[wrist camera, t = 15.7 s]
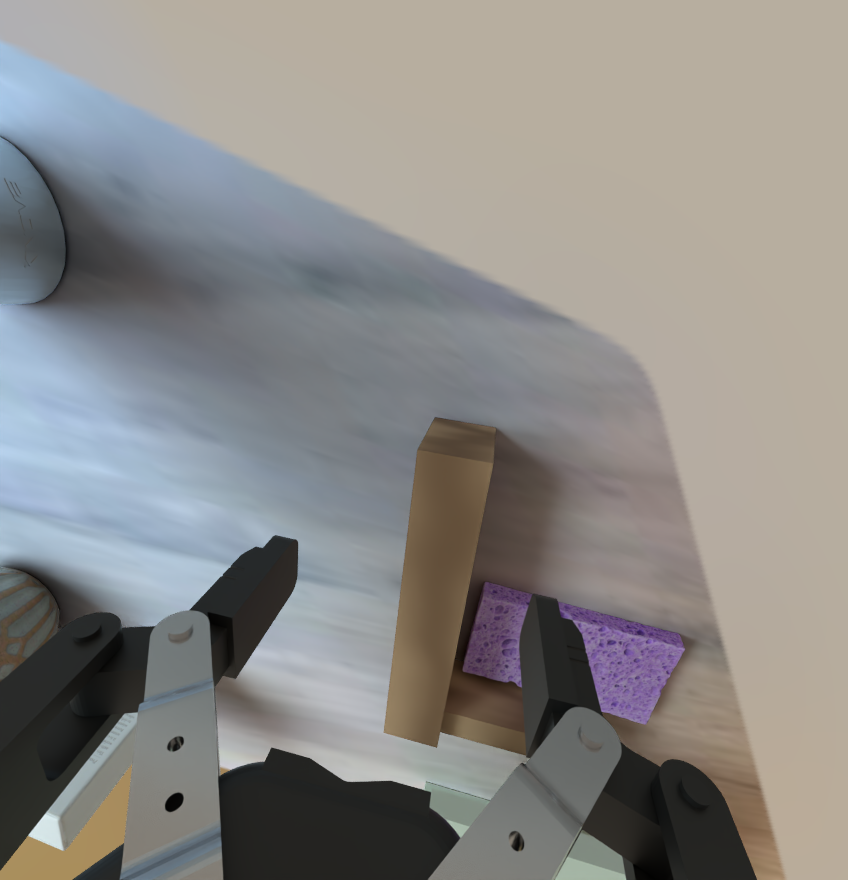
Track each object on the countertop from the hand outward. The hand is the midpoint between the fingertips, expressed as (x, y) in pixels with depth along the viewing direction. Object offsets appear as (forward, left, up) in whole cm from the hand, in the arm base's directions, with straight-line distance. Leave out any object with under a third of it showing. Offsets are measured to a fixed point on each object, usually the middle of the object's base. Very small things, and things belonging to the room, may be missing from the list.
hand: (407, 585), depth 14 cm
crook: (+6, -8, -11) cm, 15 cm away
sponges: (+10, -12, -12) cm, 20 cm away
